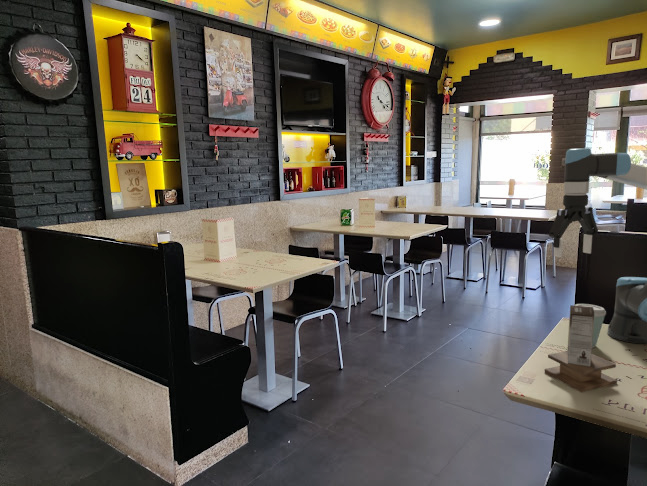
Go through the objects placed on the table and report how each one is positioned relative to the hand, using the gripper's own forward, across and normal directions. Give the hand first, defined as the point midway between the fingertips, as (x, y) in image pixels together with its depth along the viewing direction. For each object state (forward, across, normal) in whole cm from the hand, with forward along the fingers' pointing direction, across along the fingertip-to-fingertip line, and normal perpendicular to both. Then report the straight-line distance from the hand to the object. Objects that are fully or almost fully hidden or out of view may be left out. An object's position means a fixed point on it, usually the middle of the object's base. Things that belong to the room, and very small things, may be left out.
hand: (572, 254), depth 161 cm
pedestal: (+34, +16, +19) cm, 43 cm away
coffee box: (+28, +17, +19) cm, 38 cm away
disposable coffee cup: (+35, -8, +1) cm, 36 cm away
